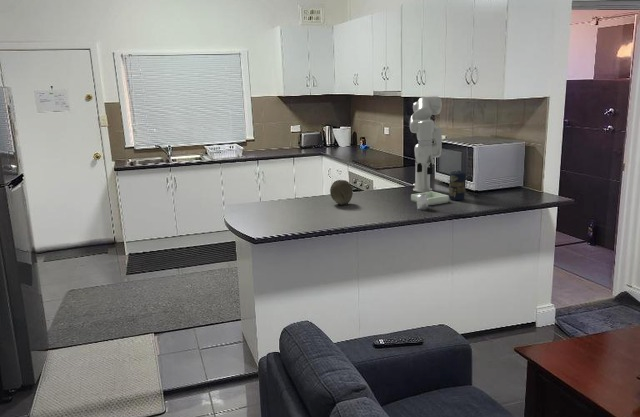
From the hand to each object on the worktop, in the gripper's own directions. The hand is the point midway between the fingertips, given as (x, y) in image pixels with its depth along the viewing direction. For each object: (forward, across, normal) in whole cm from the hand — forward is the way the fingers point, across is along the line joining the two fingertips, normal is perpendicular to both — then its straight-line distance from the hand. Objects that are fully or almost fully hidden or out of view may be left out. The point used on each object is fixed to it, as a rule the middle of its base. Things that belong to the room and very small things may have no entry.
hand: (424, 173), depth 297 cm
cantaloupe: (+20, -34, -36) cm, 54 cm away
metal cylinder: (+20, +1, -2) cm, 20 cm away
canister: (+20, -8, +30) cm, 37 cm away
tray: (+20, -12, +13) cm, 27 cm away
